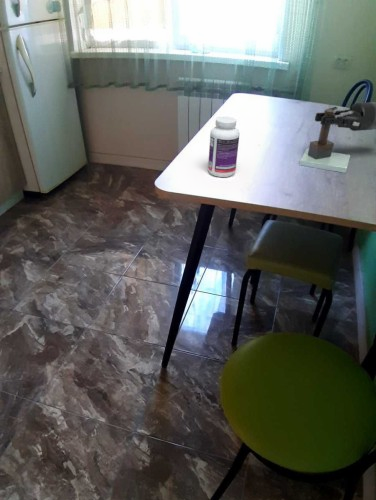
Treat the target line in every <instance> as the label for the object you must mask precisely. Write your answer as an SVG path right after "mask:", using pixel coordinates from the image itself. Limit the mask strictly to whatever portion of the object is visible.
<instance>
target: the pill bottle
mask: <svg viewBox="0 0 376 500" xmlns="http://www.w3.org/2000/svg"><path fill="white" fill-rule="evenodd" d="M236 126H237V119H236V118H234V117H231V116H218V117H216V118H215V126H214V127H212V129H211V130H210V133H209V149H208V163H207V164H208V165H207V170H208V173H209V174H210V175H212V176H215V177H218V178H228V177H231V176H233V175H234V174H235V173H236V171H237V163H238V162H237V161H238V152H239V144H240V143H239V142H240V131H239V130H238V128H237V127H236Z"/></svg>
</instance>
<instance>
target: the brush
mask: <svg viewBox="0 0 376 500" xmlns="http://www.w3.org/2000/svg"><path fill="white" fill-rule="evenodd" d="M323 113H324V116H333V113H334V110H331V109H329V108H325V109H324V112H323ZM331 125H332V124H330V125H322V124H320V131H319V135H318V140H313V141H310V142H309V147H308V148H309V151H308V155H309V156H310V157H312V158H314V159H320V158H325V157H330V156H331V154H332V152H333V150H334V145H335V142H333V141H332V140H331V141H330V140H328V139H329V135H330V130H331Z"/></svg>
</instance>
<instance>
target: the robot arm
mask: <svg viewBox="0 0 376 500" xmlns="http://www.w3.org/2000/svg"><path fill="white" fill-rule="evenodd" d="M328 109H331V110H334V113H333V116H324V112H316V113H315V116H314V122H320V125H330V124H331V125H332V126H334V127H335V126H336V127H338V128H343V129H349V130H350V131H353V132H358V131H372V130H376V101H371V102H370V101H368V102H356V103H354V104H352V106H350V108H341V109H340V108H339V109H338V107H337V106H333V107H329V108H328Z"/></svg>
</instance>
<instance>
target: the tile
mask: <svg viewBox="0 0 376 500" xmlns="http://www.w3.org/2000/svg"><path fill="white" fill-rule="evenodd" d="M308 151H309V147H306V148H305V151H304V152H303V154H302V156H301V158H300V161H299V166H303V167H308V168H314V169H320V170H326V171H332V172H338V173H343V174H346V172H347V170H348V166H349V163H350V159H351V154H345V153H339V152H333V151H332V154H331V156H330V157H325V158H320V159H314V158H312V157H310V156H309V155H308Z"/></svg>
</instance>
